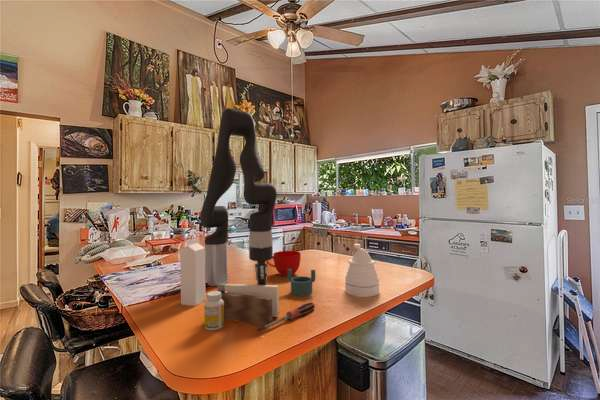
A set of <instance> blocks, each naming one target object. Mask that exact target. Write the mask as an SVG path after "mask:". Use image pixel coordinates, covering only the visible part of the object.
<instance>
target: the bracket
mask: <svg viewBox="0 0 600 400" xmlns="http://www.w3.org/2000/svg"><path fill="white" fill-rule="evenodd" d="M287 281H288V282H290V294H291V295H293V296H297V297H307V296H310V295H312V294H313V283H314V282H316V269H311V271H310V276H305V275H304V276H302V275H301V276H294V277H293V275H292V269H288V276H287ZM306 295H307V296H306Z"/></svg>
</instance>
